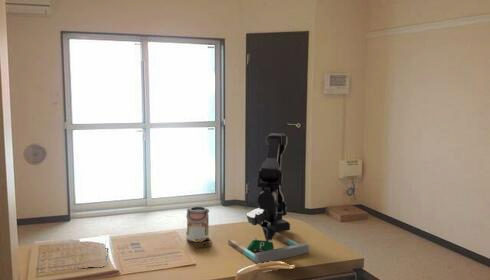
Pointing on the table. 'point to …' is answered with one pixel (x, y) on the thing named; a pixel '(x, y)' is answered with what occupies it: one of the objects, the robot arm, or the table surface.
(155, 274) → the table surface
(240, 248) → the rails
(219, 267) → the table surface
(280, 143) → the robot arm
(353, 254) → the table surface
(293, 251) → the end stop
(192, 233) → the pink white can
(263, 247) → the gaming controller
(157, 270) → the table surface
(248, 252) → the teal band
